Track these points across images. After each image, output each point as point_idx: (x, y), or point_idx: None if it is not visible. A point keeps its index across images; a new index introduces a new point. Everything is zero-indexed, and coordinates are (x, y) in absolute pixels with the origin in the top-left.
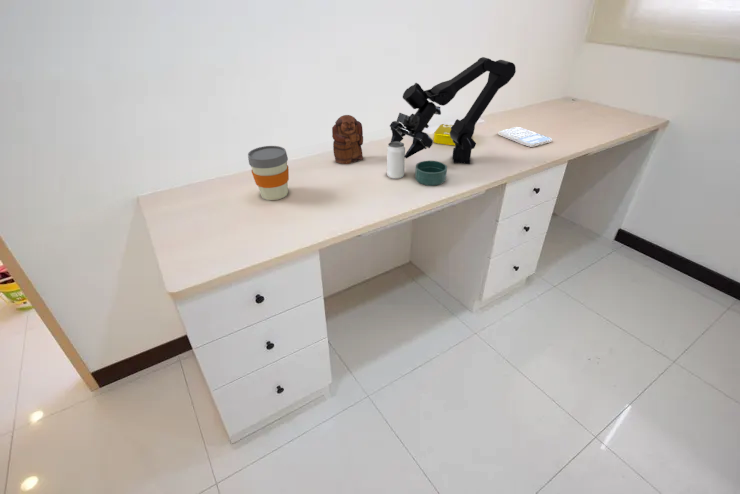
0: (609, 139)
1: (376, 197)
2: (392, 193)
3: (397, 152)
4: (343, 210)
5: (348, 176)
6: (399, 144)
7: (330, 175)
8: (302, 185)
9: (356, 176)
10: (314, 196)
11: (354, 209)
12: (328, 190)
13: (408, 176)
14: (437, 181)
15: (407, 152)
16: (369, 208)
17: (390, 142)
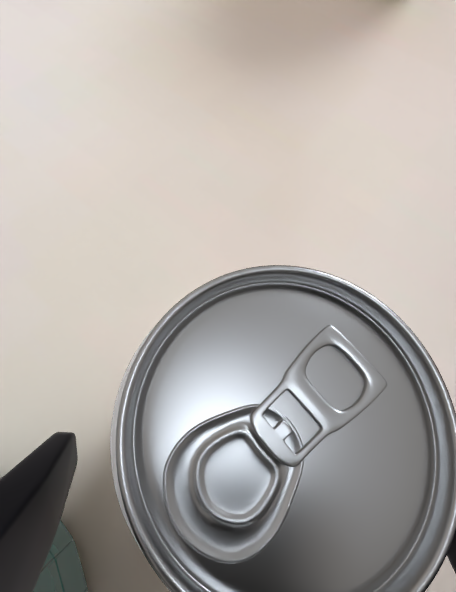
0: None
1: (81, 153)
2: (42, 233)
3: (144, 340)
4: (106, 18)
5: (378, 201)
6: (280, 515)
7: (431, 153)
8: (393, 42)
9: (356, 229)
10: (280, 21)
11: (77, 41)
12: (294, 72)
13: None
14: None
15: (12, 488)
16: (29, 76)
17: (447, 397)
